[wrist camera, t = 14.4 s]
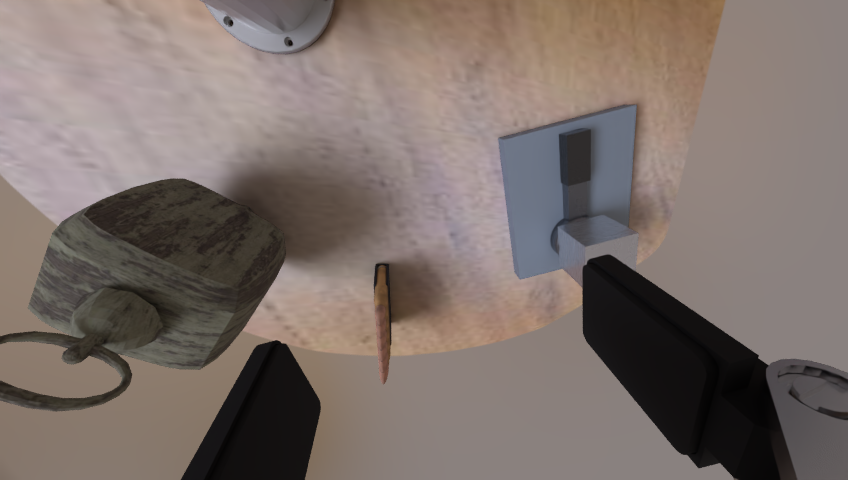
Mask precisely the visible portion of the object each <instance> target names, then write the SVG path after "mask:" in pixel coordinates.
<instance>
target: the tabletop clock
mask: <svg viewBox="0 0 848 480" xmlns="http://www.w3.org/2000/svg"><path fill="white" fill-rule="evenodd" d="M285 255H286V251H285V241H284V233H283V232H282V231H281V230H279V229H278V228H277V227H276V226H274V225H273V224H271V223H270V222H268V221H266V220H265V219H263V218H261V217H259V216H258V215H256V214H254V213H253V212H252V211H251V209H250V208H249V207H247V206H240V205H239V204H237V203H235V202H233V201H231V200H229V199H227V198H225V197H223V196H221V195H219V194H218V193H216V192H214V191H212V190H210V189H208V188H206V187H204V186H202V185H199V184H197V183H195V182H192V181H189V180H186V179H166V180H160V181H156V182H152V183H148V184H145V185H141V186H137V187H133V188H130V189H128V190H125V191H123V192H120V193H118V194H115V195H112V196H110V197H107V198H105V199H102V200H100V201H98V202H96V203H94V204H92V205H90V206H88V207H86V208H84V209H83V210H81V211H79V212H77V213H75V214H73V215H72V216H70V217H69V218H67V219H65V220H64V221H62V222H61V223H60V225H59V226H58V227H57V228H56V229H55V231H54V232H53V233H52V236H51V239H50V242H49V245H48V248H47V251H46V254H45V257H44V260H43V263H42V267H41V270H40V272H39V276H38V278H37V282H36V285H35V288H34V291H33V294H32V297H31V300H30V303H29V306H28V309H29V310H30V311H31V312H33V313H34V314H35V315H36V316H37V317H38V318H39V319H40V320H41V321H43V322H45V323H46V324H48V325H50V326H51V327H53V328H56V329H58V330H60V331H62V332H64V333H67V334H70V335H72V336H69V335H64V334H58V333H57V334H56V333H47V332H35V331H33V332H23V333H13V334H8V335H4V336H0V344H2V343H6V342H23V341H24V342H25V341H32V342H39V343H47V344H55V345H59V346H62V347H65V348H68V349H67V350H66V351H65V352H64V353H63V355H62V360H63V361H64V362H66V363H67V364H76V363H79V362H82V361H83V360H84V359H86V358H87V357H88V356H92V357H95V358H98V359H101V360H103V361H105V362H106V363H107V364H109V365H110V366H112V367H113V368H115V369H116V370H117V371H118V373H119V374H120V376H121V377H122V381H121V383H120V385H119V386H118V387H117V388H115V389H114V390H112V391H110V392H107V393H105V394H102V395H97V396H92V397H87V398H59V397H53V396H47V395H41V394H37V393H34V392H30V391H27V390H23V389H20V388H17V387H14V386H12V385H9V384H7V383H5V382H2V381H0V401H4V402H8V403H12V404H15V405H19V406H22V407H26V408H33V409H40V410H48V411H67V410H81V409H85V408H89V407H93V406H97V405H101V404H104V403H106V402H108V401H110V400H112V399H114V398H116V397H117V396H119V395H120V394H121V393H122V392H124V391H125V390H126V389H127V387H128V386H129V384H130V382H131V378H132V373H131V370H130V367H129V364H128V363H127V362H126V361H125V360H124V359H122V358H121V357H120V356H119V355H118V354H121V355H125V356H128V357H132V358H136V359H140V360H143V361H146V362H150V363H154V364H157V365H161V366H165V367H169V368H177V369H198V370H199V369H201V368H203V367H205V366H206V365H208V364H209V363H211V362H212V361H214V360H215V359H217V358H218V357H219V356H220V355H221V354H222V353H223V352H224V351H225V350H226V349H227V348H228V347H229V346H230V344H231V343H232V342H233V341H234V339H235V338H236V337H237V336H238V335H239V333H240V332H241V331H242V330H243V328H244V327H245V326H246V324H247V322H248V321H249V319H250V318H251V316H252V315H253V313H254V312H255V310H256V308H257V307H258V305H259V304H260V302H261V301H262V299H263V297H264V296H265V294H266V293H267V291H268V290H269V288H270V286H271V285H272V283H273V282H274V280H275V279H276V277H277V275H278V273H279V271H280V269H281V267H282V264H283V262H284V259H285Z"/></svg>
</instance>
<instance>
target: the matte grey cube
mask: <svg viewBox="0 0 848 480" xmlns="http://www.w3.org/2000/svg"><path fill="white" fill-rule="evenodd" d="M638 235H639V233H638V232H636V231H634V230H632V229H630V228H628V227H626V226H624V225H622V224H620V223H618V222H617V221H615V220H613V219H611V218H609V217H607V216H605V215H600V216H596V217H592V218H589V219H585V220H581V221H577V222H573V223H570V224H566V225H562V226H558V243H559V264H560V267H561V268H562V269H563V270H564V271H565V272H567V273H568V274H569V275H570V276H571V277H572V278H573V279H574V280H575V281H576V282H577V283H578V284H579V285H580V286H581V287H582V288H583V284H582V269H583V266H584V265H587V261H588V260H589V259H591V258H595V257H599V256H603V255H606V254H610V255H612V256H614V257H615V258H617V259H618V260H620V261H621V262H622V263H624V264H625V265H627V266H628V267H630V268H631V269H633V270H634V271H636V260H637V247H638Z"/></svg>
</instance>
